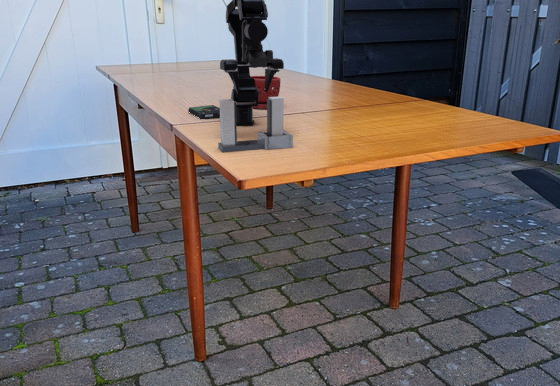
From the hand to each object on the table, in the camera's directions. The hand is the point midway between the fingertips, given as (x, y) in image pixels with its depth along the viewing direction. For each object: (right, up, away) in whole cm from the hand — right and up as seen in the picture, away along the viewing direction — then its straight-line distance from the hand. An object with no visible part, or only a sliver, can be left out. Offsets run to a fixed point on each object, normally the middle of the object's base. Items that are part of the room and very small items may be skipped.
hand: (252, 93), depth 166 cm
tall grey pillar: (+7, -16, -9) cm, 19 cm away
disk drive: (-18, -3, +34) cm, 39 cm away
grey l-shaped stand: (+1, -18, -10) cm, 20 cm away
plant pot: (+2, +3, +50) cm, 50 cm away
